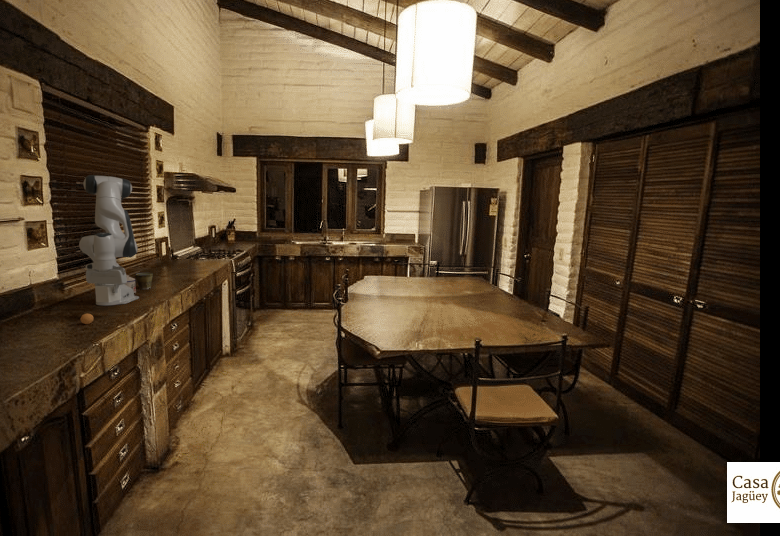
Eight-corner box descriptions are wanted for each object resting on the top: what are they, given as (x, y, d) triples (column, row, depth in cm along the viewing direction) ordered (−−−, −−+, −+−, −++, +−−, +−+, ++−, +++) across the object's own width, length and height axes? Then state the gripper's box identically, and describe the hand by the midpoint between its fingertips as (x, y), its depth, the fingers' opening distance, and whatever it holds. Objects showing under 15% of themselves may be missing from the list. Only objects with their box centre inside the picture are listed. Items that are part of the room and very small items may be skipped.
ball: (87, 322, 199) (86, 312, 198) (96, 322, 198) (95, 312, 197) (78, 325, 194) (77, 314, 193) (87, 325, 193) (86, 315, 192)
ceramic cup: (157, 287, 280) (156, 273, 278) (144, 290, 270) (143, 275, 269) (142, 286, 284) (141, 271, 282) (129, 288, 274) (128, 274, 273)
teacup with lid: (133, 294, 257) (131, 276, 255) (117, 295, 255) (115, 276, 254) (140, 290, 269) (139, 273, 267) (124, 291, 267) (123, 273, 265)
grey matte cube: (107, 298, 211) (106, 284, 210) (119, 299, 210) (118, 284, 209) (96, 301, 204) (95, 286, 203) (108, 302, 203) (107, 287, 202)
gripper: (129, 265, 206) (131, 292, 208) (93, 263, 209) (95, 290, 211) (119, 267, 200) (121, 294, 202) (82, 265, 203) (84, 292, 205)
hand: (107, 292), depth 206 cm, fingers closed on grey matte cube, 7 cm apart
